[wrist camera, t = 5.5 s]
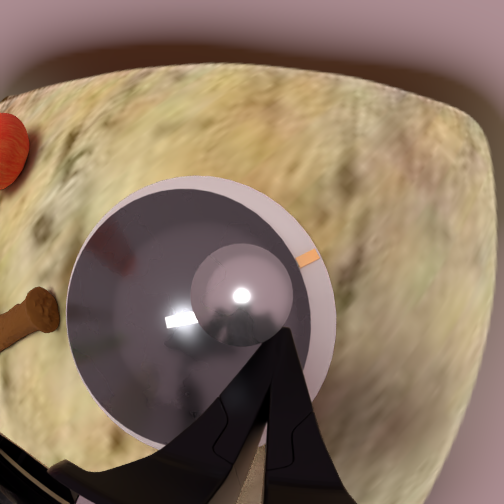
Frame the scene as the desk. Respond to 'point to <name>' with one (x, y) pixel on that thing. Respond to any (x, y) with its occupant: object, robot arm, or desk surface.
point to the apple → (12, 148)
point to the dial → (179, 306)
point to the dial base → (301, 251)
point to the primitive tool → (29, 317)
